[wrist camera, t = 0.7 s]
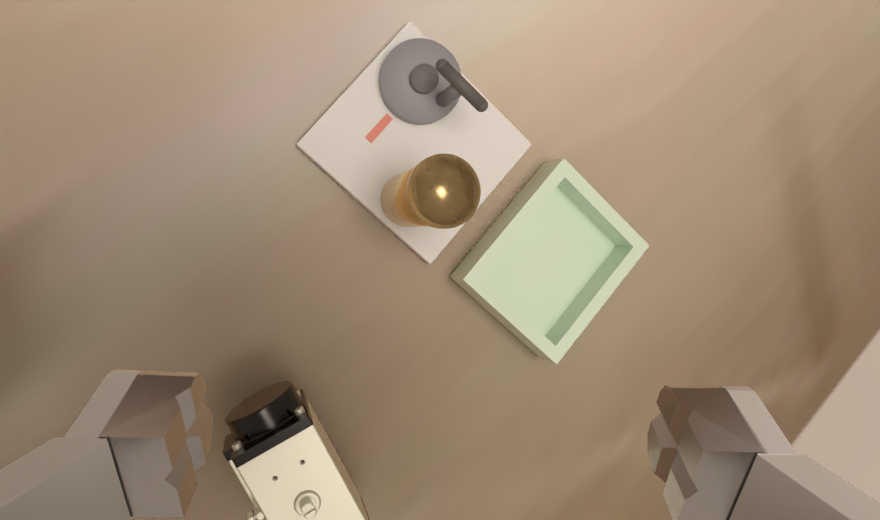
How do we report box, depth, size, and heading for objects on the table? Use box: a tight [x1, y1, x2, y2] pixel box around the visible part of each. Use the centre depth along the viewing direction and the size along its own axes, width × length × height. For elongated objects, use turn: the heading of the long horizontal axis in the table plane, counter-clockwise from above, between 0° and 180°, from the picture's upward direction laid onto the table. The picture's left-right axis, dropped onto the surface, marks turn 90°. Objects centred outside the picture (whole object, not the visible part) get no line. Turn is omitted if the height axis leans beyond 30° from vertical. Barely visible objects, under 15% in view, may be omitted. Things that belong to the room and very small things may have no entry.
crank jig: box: [296, 21, 531, 264], centre depth 44 cm, size 13×12×7 cm
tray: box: [449, 158, 649, 364], centre depth 49 cm, size 10×12×4 cm
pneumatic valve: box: [223, 381, 370, 520], centre depth 40 cm, size 6×12×12 cm, turn 27°
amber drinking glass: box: [381, 153, 481, 229], centre depth 41 cm, size 4×4×10 cm
